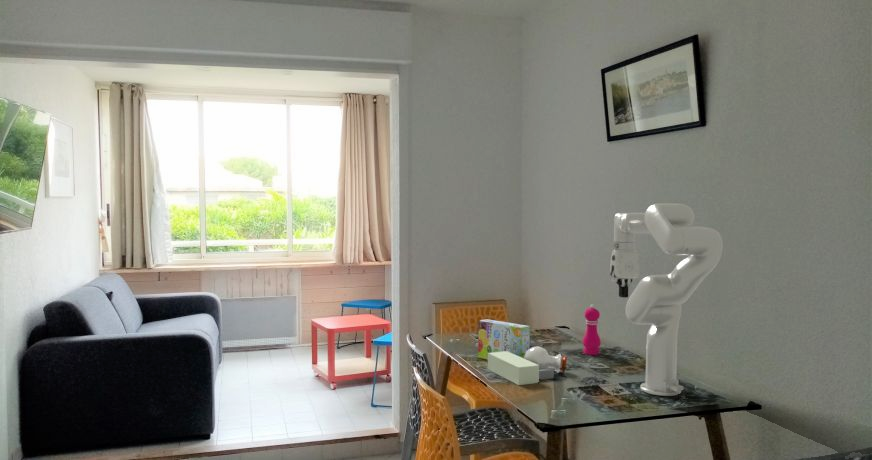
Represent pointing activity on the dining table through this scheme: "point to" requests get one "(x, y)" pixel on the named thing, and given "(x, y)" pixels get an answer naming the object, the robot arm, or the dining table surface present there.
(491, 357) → the green and grey block
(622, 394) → the dining table surface
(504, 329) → the snack box
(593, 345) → the pepper mill
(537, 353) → the potion bottle
